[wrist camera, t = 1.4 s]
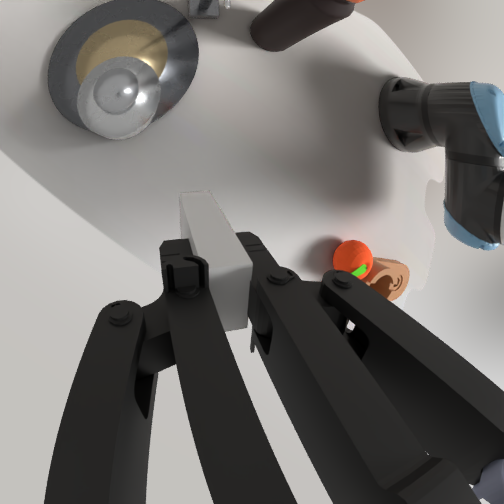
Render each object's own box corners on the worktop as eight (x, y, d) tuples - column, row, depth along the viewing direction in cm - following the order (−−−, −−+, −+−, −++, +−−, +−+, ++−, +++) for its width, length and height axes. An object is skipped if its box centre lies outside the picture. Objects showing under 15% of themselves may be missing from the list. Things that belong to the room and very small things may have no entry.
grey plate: (195, -3, 27) (197, -7, 26) (200, 122, 34) (202, 121, 33) (56, 17, 21) (54, 13, 20) (52, 148, 28) (49, 148, 27)
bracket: (336, 294, 53) (359, 311, 47) (349, 253, 51) (375, 266, 45) (392, 295, 60) (414, 308, 54) (404, 261, 58) (427, 272, 52)
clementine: (325, 282, 51) (349, 299, 44) (315, 250, 47) (341, 265, 41) (358, 259, 52) (384, 274, 46) (350, 228, 49) (378, 239, 43)
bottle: (260, 8, 31) (339, -57, 13) (297, 29, 34) (389, -18, 16) (241, 38, 32) (321, -28, 14) (282, 60, 35) (378, 16, 17)
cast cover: (156, 66, 29) (161, 41, 21) (159, 133, 32) (165, 127, 24) (86, 78, 26) (71, 57, 18) (89, 146, 29) (72, 144, 21)
